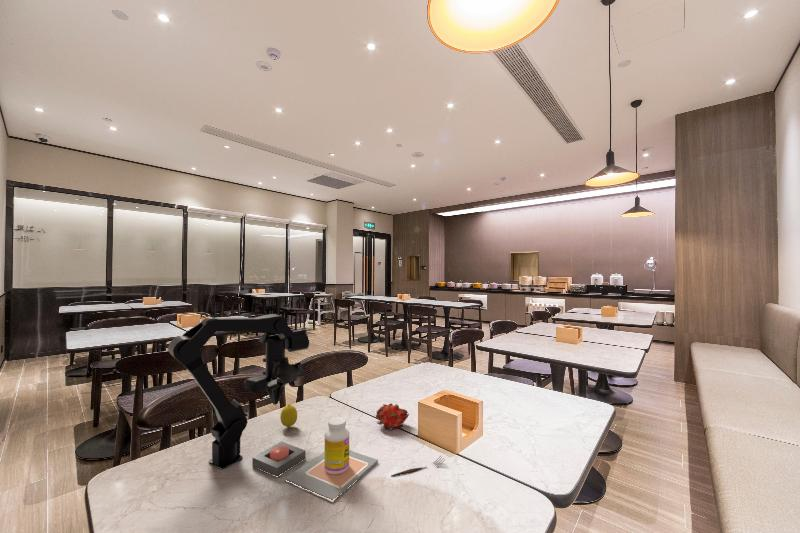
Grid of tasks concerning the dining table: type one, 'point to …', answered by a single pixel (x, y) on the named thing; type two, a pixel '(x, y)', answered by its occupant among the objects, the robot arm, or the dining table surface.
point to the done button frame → (279, 467)
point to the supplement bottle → (336, 446)
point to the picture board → (331, 475)
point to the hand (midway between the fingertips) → (275, 404)
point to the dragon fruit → (391, 416)
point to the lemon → (288, 415)
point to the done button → (279, 453)
